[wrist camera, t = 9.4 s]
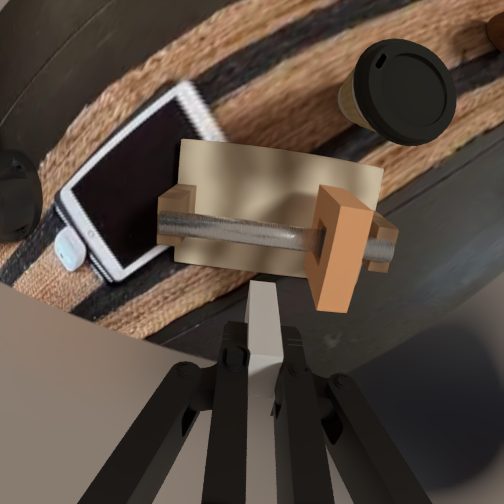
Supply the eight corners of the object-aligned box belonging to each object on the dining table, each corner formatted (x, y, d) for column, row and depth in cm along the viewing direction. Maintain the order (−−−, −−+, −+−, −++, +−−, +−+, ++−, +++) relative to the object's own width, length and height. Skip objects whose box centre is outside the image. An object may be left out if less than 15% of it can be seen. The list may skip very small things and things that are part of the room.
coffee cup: (372, 154, 36) (429, 171, 22) (307, 109, 34) (336, 97, 20) (408, 95, 33) (476, 87, 19) (347, 49, 31) (393, 12, 17)
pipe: (165, 231, 33) (157, 242, 30) (167, 202, 32) (157, 210, 29) (380, 258, 33) (390, 271, 30) (387, 232, 32) (398, 242, 29)
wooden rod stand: (176, 257, 42) (157, 289, 34) (183, 139, 36) (161, 142, 28) (354, 279, 43) (372, 314, 34) (380, 167, 37) (410, 179, 28)
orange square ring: (304, 265, 38) (316, 310, 28) (319, 184, 34) (340, 205, 25) (327, 268, 38) (346, 312, 29) (344, 188, 34) (373, 211, 25)
